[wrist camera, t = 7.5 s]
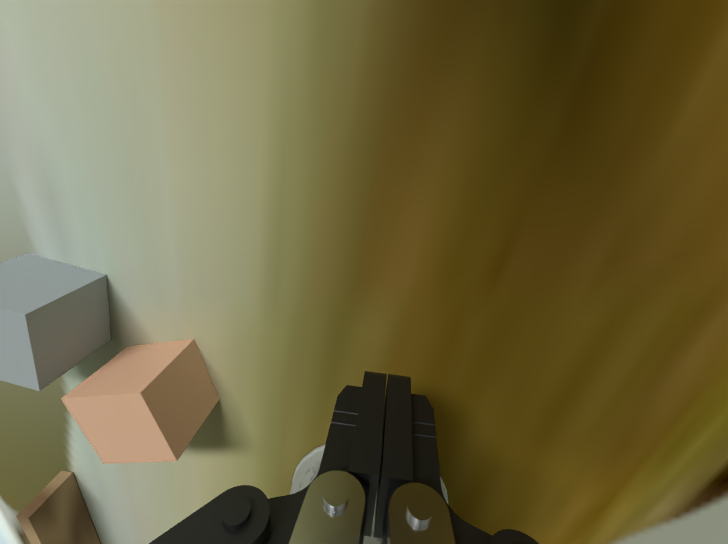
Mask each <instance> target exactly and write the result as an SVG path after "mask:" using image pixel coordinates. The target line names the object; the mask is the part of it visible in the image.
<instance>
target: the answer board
mask: <svg viewBox="0 0 728 544" xmlns="http://www.w3.org/2000/svg"><path fill="white" fill-rule="evenodd" d="M17 518H18V520H19V522H20V524H21V526H22V528H23V530H24V532H25V533H26V535H27V537H28V539H29V541H30V543H31V544H100V541H99V539H98V536H97V533H96V531H95V528H94V526H93V523H92V521H91V518H90V515H89V513H88V510H87V508H86V505H85V503H84V500H83V498H82V495H81V492H80V490H79V487H78V485H77V482H76V480H75V477H74V474H73V472H67V471H61V472H60V473H59V474H58V475H57V476H56V477H55V478H54V479H53V480H52V481H51V482H50V483H49V484H48V485H47V486H46V487H45V488H44V489H43V490H42V491H41V492H40V493H39V494H38V495H37V496H36V497H35V498H34V499H33V500H32V501H31V502H30V503H29V504H28V505H27V506H26V507H25V508H24V509H23V510H22V511H21V512H20V513H19V514H18V515H17Z"/></svg>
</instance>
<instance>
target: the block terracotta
mask: <svg viewBox="0 0 728 544" xmlns="http://www.w3.org/2000/svg"><path fill="white" fill-rule="evenodd" d="M61 399H62V401H63V402H64V404H65V406H66V407H67V409H68V410H69V412H70V413H71V415H72V416H73V418H74V419H75V421H76V422H77V424H78V425H79V427H80V428H81V430H82V432H83V433H84V435H85V436H86V438H87V439H88V441H89V442H90V444H91V445H92V447H93V448H94V450H95V451H96V453H97V455H98V456H99V458H100V459H101V461H102V462H103V464H106V463H136V462H165V461H177V460H178V459H179V457H180V456H181V455H182V453H183V452H184V450H185V449H186V447H187V446H188V444H189V443H190V441H191V440H192V439H193V437H194V436H195V434H196V433H197V431H198V430H199V428H200V427H201V425H202V424H203V422H204V421H205V420H206V418H207V417H208V415H209V414H210V412H211V411H212V409H213V408H214V406H215V405H216V404H217V402H218V401H219V399H220V398H219V396H218V394H217V391H216V389H215V387H214V384H213V382H212V380H211V378H210V375H209V373H208V371H207V368H206V366H205V364H204V361H203V359H202V357H201V354H200V352H199V350H198V347H197V345H196V343H195V341H194V339H191V340H181V341H172V342H162V343H152V344H143V345H133V346H128V347H126V348H125V349H124V350H122V351H121V352H120V353H119V354H117V355H116V356H115V357H114V358H112V359H111V360H110V361H108V362H107V363H106V364H105V365H103V366H102V367H101V368H100V369H98V370H97V371H96V372H94V373H93V374H92V375H91V376H89V377H88V378H87V379H86V380H84V381H83V382H82V383H80V384H79V385H78V386H77V387H75V388H74V389H73V390H72V391H70V392H69V393H68V394H66V395H65V396H64V397H63V398H61Z"/></svg>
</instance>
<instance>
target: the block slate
mask: <svg viewBox="0 0 728 544" xmlns="http://www.w3.org/2000/svg"><path fill="white" fill-rule="evenodd" d="M110 340H111V333H110V319H109V305H108V291H107V277H106V275H105V274H102V273H98V272H95V271H91V270H87V269H84V268H80V267H77V266H73V265H69V264H66V263H62V262H58V261H55V260H51V259H48V258H44V257H40V256H37V255H36V254H33V253H28V254H25V255H22V256H19V257H16V258H13V259H10V260H7V261H4V262H1V263H0V380H2V381H5V382H9V383H12V384H16V385H20V386H23V387H27V388H30V389H34V390H37V391H41V390H42V389H43V388H45V387H46V386H48V385H49V384H50V383H52V382H53V381H54V380H56V379H57V378H59V377H60V376H61V375H63V374H64V373H66V372H67V371H68V370H70V369H71V368H73V367H74V366H75V365H77V364H78V363H79V362H81V361H82V360H84V359H85V358H86V357H88V356H89V355H91V354H92V353H93V352H95V351H96V350H98V349H99V348H100V347H102V346H103V345H104V344H106V343H107V342H109V341H110Z"/></svg>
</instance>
